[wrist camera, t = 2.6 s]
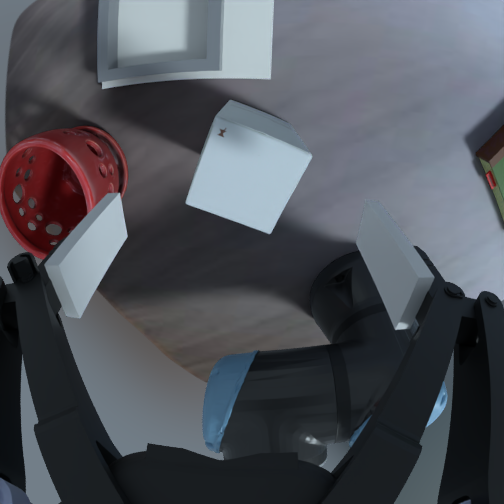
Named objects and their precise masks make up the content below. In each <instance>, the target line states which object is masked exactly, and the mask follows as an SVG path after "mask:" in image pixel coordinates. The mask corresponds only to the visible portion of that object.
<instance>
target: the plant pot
mask: <svg viewBox="0 0 504 504" xmlns="http://www.w3.org/2000/svg"><path fill="white" fill-rule="evenodd" d="M26 150H27V151H26ZM25 151H26V152H25ZM24 152H25V153H24ZM32 156H34V157H33V158H32V159H31V160H30V161H29V159H30V158H31V157H32ZM18 168H20V170H19V172H18V173H17V174H16V172H17V170H18ZM28 169H30V174H29V177H28V178H27V179H24V176H25V173H26V171H27V170H28ZM127 183H128V166H127V161H126V158H125V155H124V153H123V151H122V149H121V147H120V146H119V144H118V143H117V142H116V140H115V139H114V138H113V137H112V136H111V135H109V134H108V133H107V132H105V131H103V130H101V129H99V128H96V127H92V126H79V127H75V128H72V129H71V128H64V129H55V130H49V131H45V132H42V133H39V134H36V135H33V136H31V137H29V138H26V139H24V140H22V141H21V142H19V143H17V144H16V145H15V146H13V147H12V148H11V149H10V151H9V152H8V153H7V154H6V156H5V158H4V159H3V162H2V164H1V166H0V212H1V215H2V218H3V220H4V222H5V224H6V226H7V228H8V229H9V231H10V233H11V234H12V236H13V237H14V238H15V239H16V241H17V242H18V243H19V244H20V245H21V246H22V247H23V248H24V249H25V250H26V251H28V252H30V253H32V254H33V255H34V256H36V257H38V258H40V259H43V260H44V258H45V257H46V256H47V255H49V252H50V251H51V250H53V248H54V246H55V245H51V244H50V243H52V242H57V243H58V242H59V241H60V240H62V239H63V238H65V237H66V236H68V235H69V234H70V233H68V232H69V231H71V230H74V229H75V228H76V226H77V225H78V224H79V223H80V222H81V221H82V220H83V219H84V218H85V217H86V215H87V214H88V213H89V212H90V211H91V210H92V209H93V208H94V207H95V206H96V205H97V204H98V203H99V202H100V201H101V200H102V199H103V198H104V197H105V196H106V194H107V193H120V196H121V199H122V197H123V196H124V193H125V191H126V188H127ZM18 184H20V185H21V187H22V197H21V200H20V201H19V202H18V203H16V202H15V201H14V199H13V191H14V189H15V187H16V186H17V185H18ZM30 198H32V199H33V200H34V202H35V206H34V208H30V207H29V205H28V200H29V199H30ZM20 208H22V209H23V211H24V215H23V216H21V215H20V213H19V209H20ZM36 215H40V216H42V220H41V221H39V220H37V218H36ZM29 222H31V223H33V224H34V225H35V227H36V230H30V229H29V228H28V223H29ZM49 224H56V225H58V226H60V227H61V228H62V231H61V233H60V234H59V235H51V234H49V233H47V231H46V226H47V225H49Z"/></svg>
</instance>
